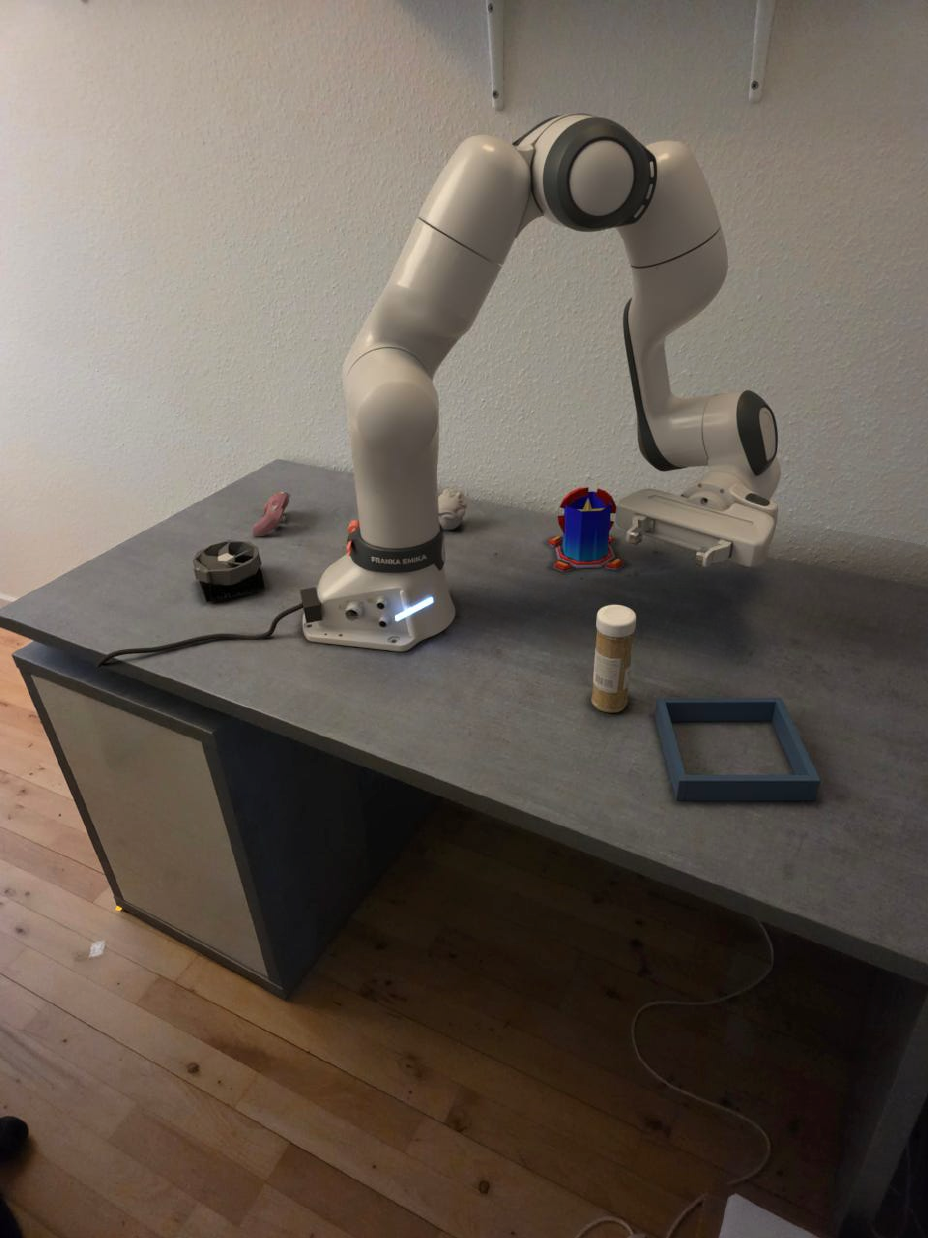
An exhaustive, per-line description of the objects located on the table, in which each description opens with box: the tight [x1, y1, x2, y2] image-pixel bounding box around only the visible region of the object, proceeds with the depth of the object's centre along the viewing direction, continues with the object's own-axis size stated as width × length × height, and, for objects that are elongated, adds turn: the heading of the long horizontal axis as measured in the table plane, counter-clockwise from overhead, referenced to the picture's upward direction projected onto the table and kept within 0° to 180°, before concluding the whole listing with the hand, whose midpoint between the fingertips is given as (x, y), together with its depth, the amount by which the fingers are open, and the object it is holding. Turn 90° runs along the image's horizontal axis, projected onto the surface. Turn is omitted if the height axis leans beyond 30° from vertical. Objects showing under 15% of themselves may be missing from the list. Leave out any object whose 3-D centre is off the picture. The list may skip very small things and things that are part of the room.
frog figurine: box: [438, 488, 468, 531], centre depth 139 cm, size 6×7×7 cm
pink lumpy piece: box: [251, 490, 291, 537], centre depth 142 cm, size 10×5×7 cm, turn 179°
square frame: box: [654, 696, 821, 801], centre depth 90 cm, size 15×14×3 cm
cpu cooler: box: [192, 539, 266, 604], centre depth 125 cm, size 10×6×10 cm
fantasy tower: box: [546, 486, 626, 574], centre depth 128 cm, size 12×12×12 cm
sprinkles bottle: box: [590, 604, 637, 714], centre depth 96 cm, size 5×5×13 cm
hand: (664, 549), depth 98 cm, fingers open, 8 cm apart
